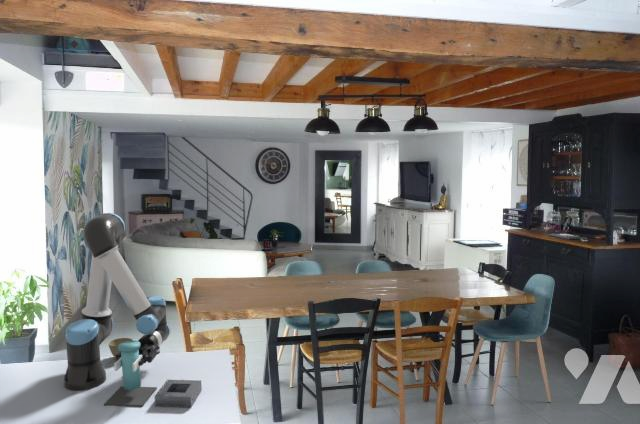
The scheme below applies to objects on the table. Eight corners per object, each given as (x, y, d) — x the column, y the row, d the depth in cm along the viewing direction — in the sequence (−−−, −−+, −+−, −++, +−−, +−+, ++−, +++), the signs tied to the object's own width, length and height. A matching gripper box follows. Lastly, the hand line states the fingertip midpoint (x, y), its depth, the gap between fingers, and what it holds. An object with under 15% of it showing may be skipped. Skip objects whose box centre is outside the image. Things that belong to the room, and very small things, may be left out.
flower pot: (125, 363, 232) (125, 346, 231) (104, 361, 234) (103, 345, 233) (138, 353, 242) (137, 338, 241) (117, 352, 244) (116, 336, 243)
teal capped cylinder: (117, 390, 198) (114, 348, 196) (126, 381, 205) (123, 340, 203) (138, 391, 197) (135, 348, 195) (146, 381, 205) (143, 340, 203)
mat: (104, 405, 196) (103, 403, 195) (120, 387, 209) (120, 386, 209) (142, 406, 195) (142, 405, 194) (156, 388, 208) (156, 387, 208)
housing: (155, 406, 195) (154, 395, 194) (167, 389, 208) (167, 379, 207) (191, 407, 194) (190, 396, 193) (201, 390, 207) (201, 380, 206)
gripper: (173, 352, 218) (151, 378, 195) (126, 351, 219) (99, 377, 196) (172, 334, 217) (149, 357, 194) (125, 333, 218) (97, 357, 195)
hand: (124, 367), depth 195 cm, fingers closed on teal capped cylinder, 6 cm apart
